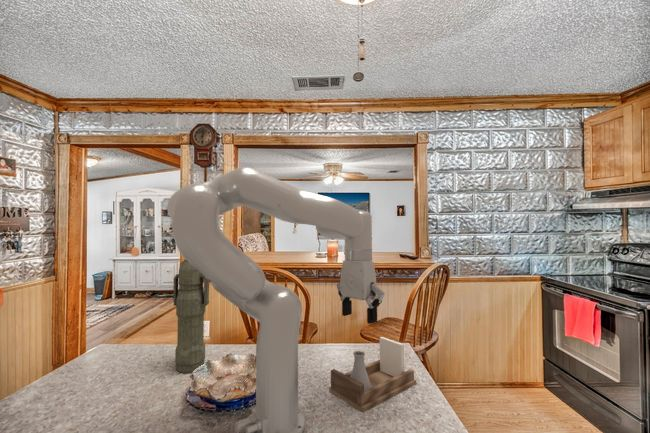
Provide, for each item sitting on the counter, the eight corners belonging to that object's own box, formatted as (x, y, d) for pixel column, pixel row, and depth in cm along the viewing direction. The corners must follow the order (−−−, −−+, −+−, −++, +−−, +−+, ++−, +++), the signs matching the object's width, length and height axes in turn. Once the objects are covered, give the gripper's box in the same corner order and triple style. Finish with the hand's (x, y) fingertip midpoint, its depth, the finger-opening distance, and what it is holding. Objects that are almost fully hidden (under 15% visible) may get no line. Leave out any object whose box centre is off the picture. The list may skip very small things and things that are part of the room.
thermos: (203, 374, 97) (204, 261, 99) (165, 374, 97) (167, 261, 99) (213, 362, 106) (214, 258, 107) (179, 362, 106) (180, 258, 108)
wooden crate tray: (363, 412, 76) (363, 387, 76) (329, 391, 86) (328, 369, 86) (416, 383, 90) (416, 362, 90) (381, 368, 100) (381, 349, 100)
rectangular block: (401, 380, 89) (401, 345, 90) (379, 370, 96) (379, 337, 96) (404, 379, 90) (403, 344, 91) (382, 369, 96) (381, 336, 97)
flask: (372, 398, 80) (371, 359, 81) (344, 396, 82) (344, 357, 82) (373, 385, 87) (373, 348, 88) (348, 382, 89) (347, 347, 89)
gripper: (328, 255, 90) (328, 314, 90) (372, 258, 77) (373, 329, 76) (347, 253, 95) (347, 310, 94) (392, 257, 82) (393, 323, 81)
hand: (359, 318), depth 85 cm, fingers open, 9 cm apart
